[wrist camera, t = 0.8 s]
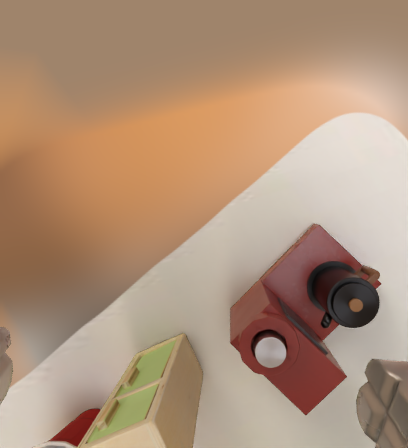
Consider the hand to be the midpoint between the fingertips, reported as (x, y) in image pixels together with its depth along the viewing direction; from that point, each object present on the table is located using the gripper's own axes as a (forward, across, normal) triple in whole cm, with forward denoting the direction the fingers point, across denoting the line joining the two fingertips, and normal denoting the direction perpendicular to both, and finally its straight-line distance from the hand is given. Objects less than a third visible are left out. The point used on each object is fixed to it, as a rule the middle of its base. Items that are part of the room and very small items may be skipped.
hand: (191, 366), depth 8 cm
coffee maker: (+35, +13, -22) cm, 43 cm away
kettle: (+33, +19, -15) cm, 41 cm away
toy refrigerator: (+35, -1, -30) cm, 46 cm away
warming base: (+36, +18, -15) cm, 43 cm away
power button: (+23, +9, -17) cm, 30 cm away
